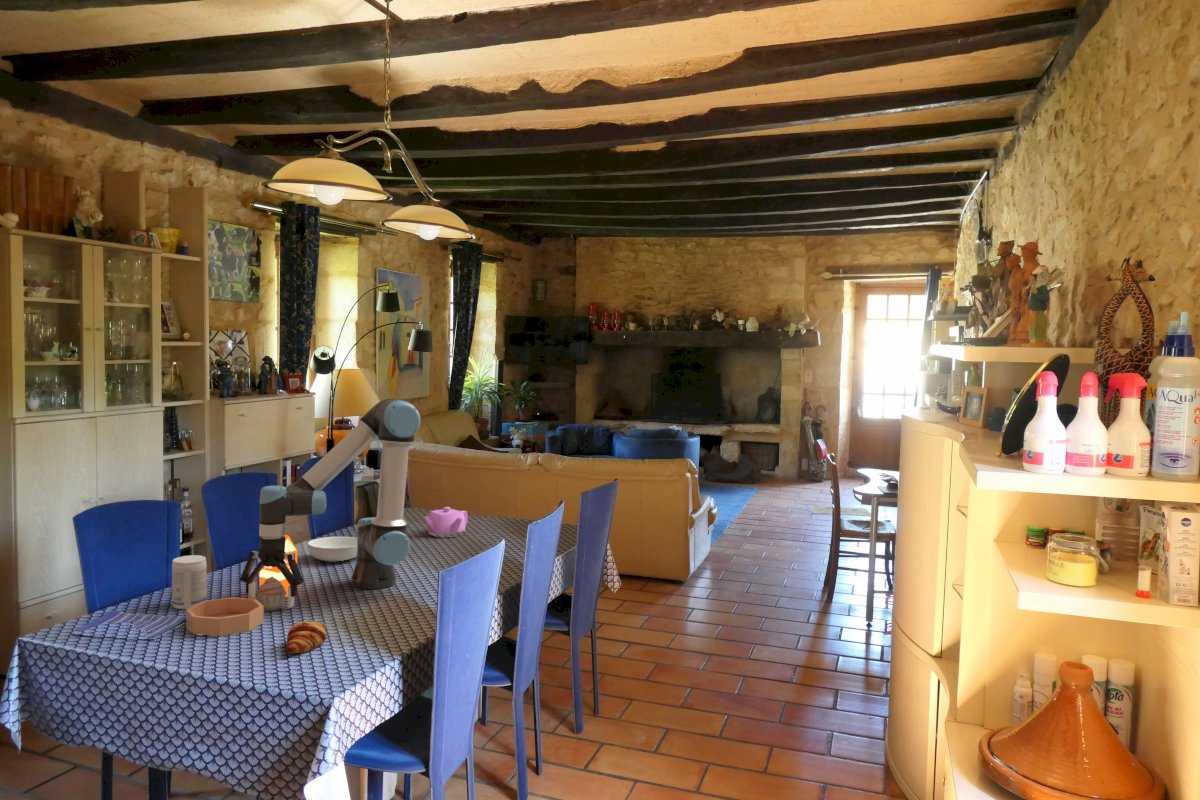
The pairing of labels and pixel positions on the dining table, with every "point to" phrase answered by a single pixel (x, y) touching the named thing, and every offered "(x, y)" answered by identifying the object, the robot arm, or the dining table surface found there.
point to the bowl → (224, 616)
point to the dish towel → (138, 622)
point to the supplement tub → (189, 581)
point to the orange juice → (274, 571)
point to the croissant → (305, 636)
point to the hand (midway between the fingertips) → (271, 605)
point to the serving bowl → (333, 548)
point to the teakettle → (446, 521)
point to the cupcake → (271, 594)
